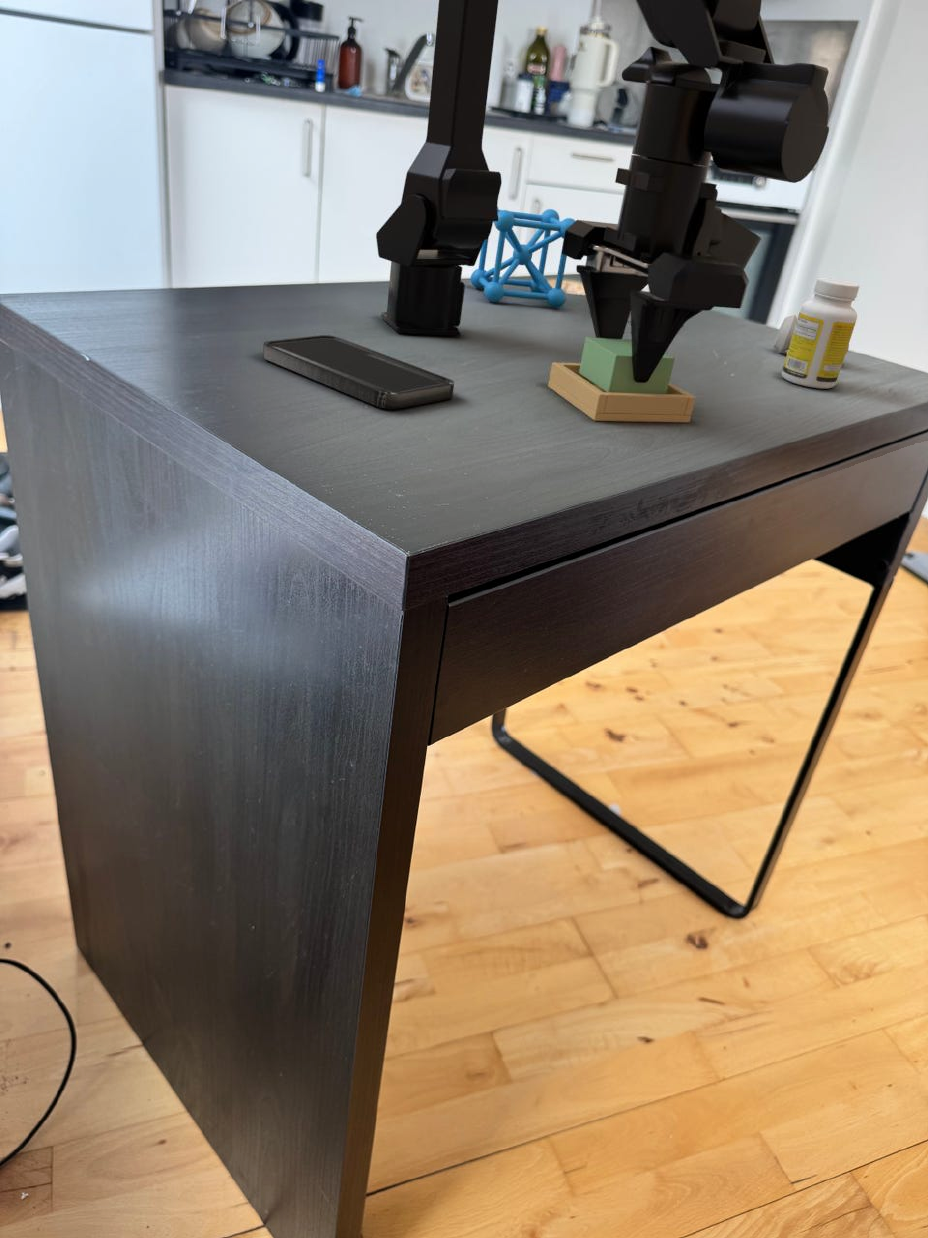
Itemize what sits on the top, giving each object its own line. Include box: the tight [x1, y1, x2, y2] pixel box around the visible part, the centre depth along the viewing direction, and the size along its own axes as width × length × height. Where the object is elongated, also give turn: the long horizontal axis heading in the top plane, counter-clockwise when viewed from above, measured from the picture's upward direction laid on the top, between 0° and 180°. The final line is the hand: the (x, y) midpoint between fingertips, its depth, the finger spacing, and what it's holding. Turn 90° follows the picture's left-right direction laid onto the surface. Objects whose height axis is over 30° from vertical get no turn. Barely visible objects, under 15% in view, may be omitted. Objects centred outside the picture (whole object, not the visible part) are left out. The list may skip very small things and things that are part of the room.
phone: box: [262, 334, 455, 410], centre depth 73 cm, size 8×1×15 cm
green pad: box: [579, 336, 676, 394], centre depth 75 cm, size 5×5×3 cm
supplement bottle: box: [781, 276, 860, 390], centre depth 91 cm, size 5×5×10 cm
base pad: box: [547, 361, 696, 423], centre depth 76 cm, size 9×9×2 cm
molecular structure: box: [470, 205, 576, 309], centre depth 109 cm, size 10×10×10 cm
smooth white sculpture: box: [773, 314, 850, 356], centre depth 103 cm, size 4×8×5 cm
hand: (623, 371), depth 75 cm, fingers closed on green pad, 5 cm apart
